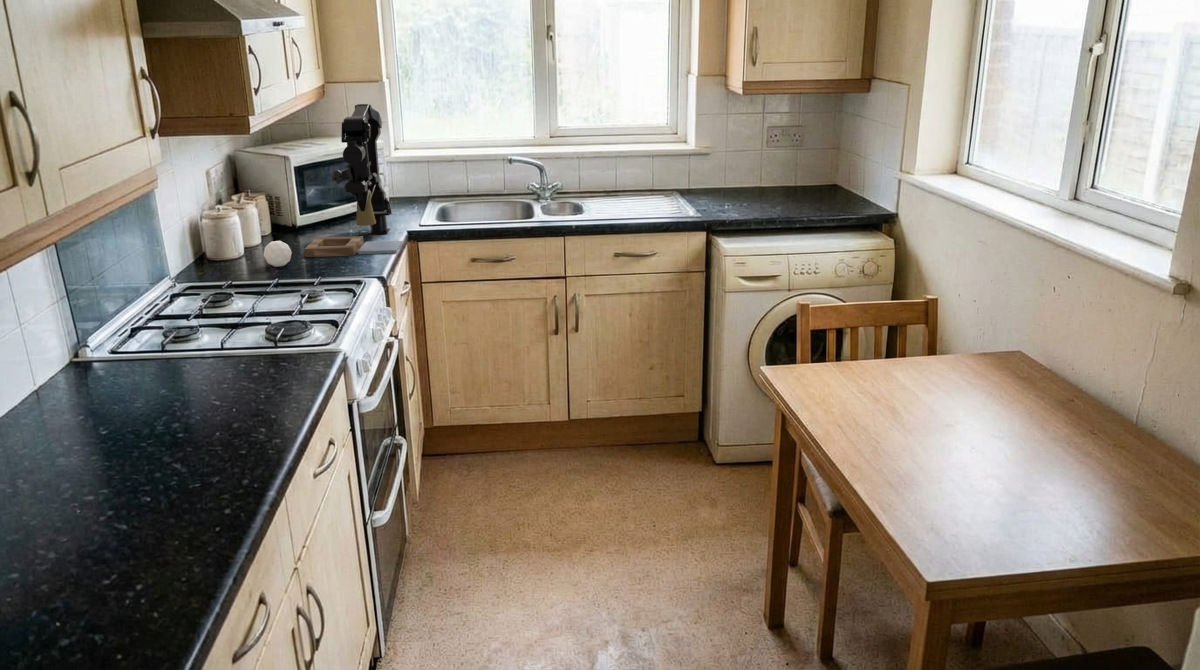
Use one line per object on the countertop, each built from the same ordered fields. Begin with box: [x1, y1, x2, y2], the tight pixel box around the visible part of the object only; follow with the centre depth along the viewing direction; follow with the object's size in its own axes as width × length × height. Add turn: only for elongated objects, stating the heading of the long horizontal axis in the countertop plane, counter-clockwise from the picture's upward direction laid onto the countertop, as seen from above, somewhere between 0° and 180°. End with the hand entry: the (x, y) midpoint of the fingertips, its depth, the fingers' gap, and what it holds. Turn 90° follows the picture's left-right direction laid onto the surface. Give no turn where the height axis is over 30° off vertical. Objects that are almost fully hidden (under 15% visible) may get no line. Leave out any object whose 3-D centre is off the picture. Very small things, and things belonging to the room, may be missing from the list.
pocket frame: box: [303, 235, 365, 258], centre depth 272 cm, size 15×15×2 cm
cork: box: [356, 191, 376, 227], centre depth 268 cm, size 6×6×11 cm
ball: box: [263, 240, 292, 268], centre depth 255 cm, size 8×8×8 cm
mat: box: [357, 240, 404, 255], centre depth 273 cm, size 12×12×1 cm
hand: (364, 209), depth 269 cm, fingers closed on cork, 4 cm apart
